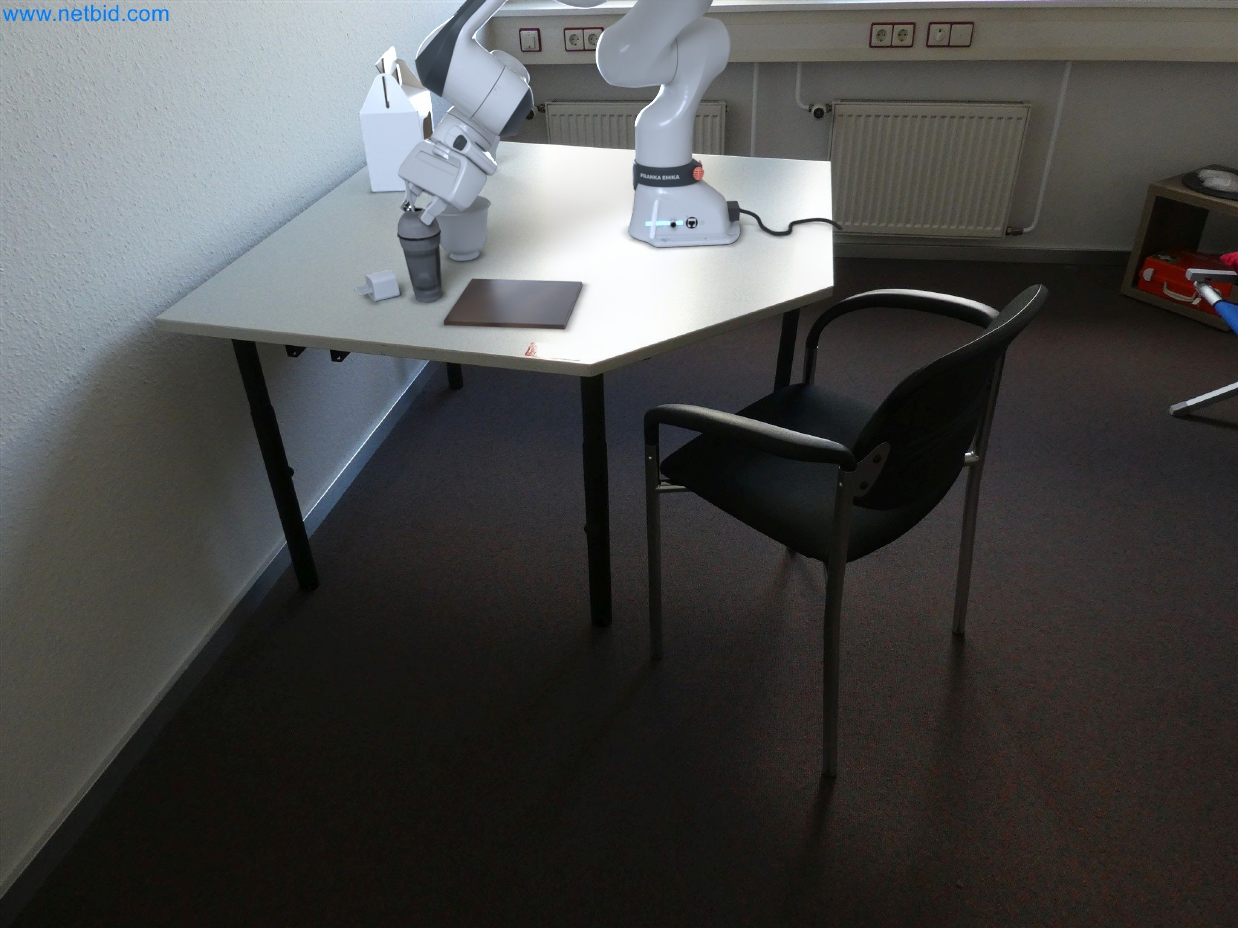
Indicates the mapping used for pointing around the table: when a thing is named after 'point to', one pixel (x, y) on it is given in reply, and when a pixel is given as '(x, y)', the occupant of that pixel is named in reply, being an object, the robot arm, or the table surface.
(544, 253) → the table surface
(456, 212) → the teacup
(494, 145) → the lightbulb
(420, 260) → the beverage cup
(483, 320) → the mat
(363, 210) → the table surface
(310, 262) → the table surface
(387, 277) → the usb wall charger
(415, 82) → the gable box
